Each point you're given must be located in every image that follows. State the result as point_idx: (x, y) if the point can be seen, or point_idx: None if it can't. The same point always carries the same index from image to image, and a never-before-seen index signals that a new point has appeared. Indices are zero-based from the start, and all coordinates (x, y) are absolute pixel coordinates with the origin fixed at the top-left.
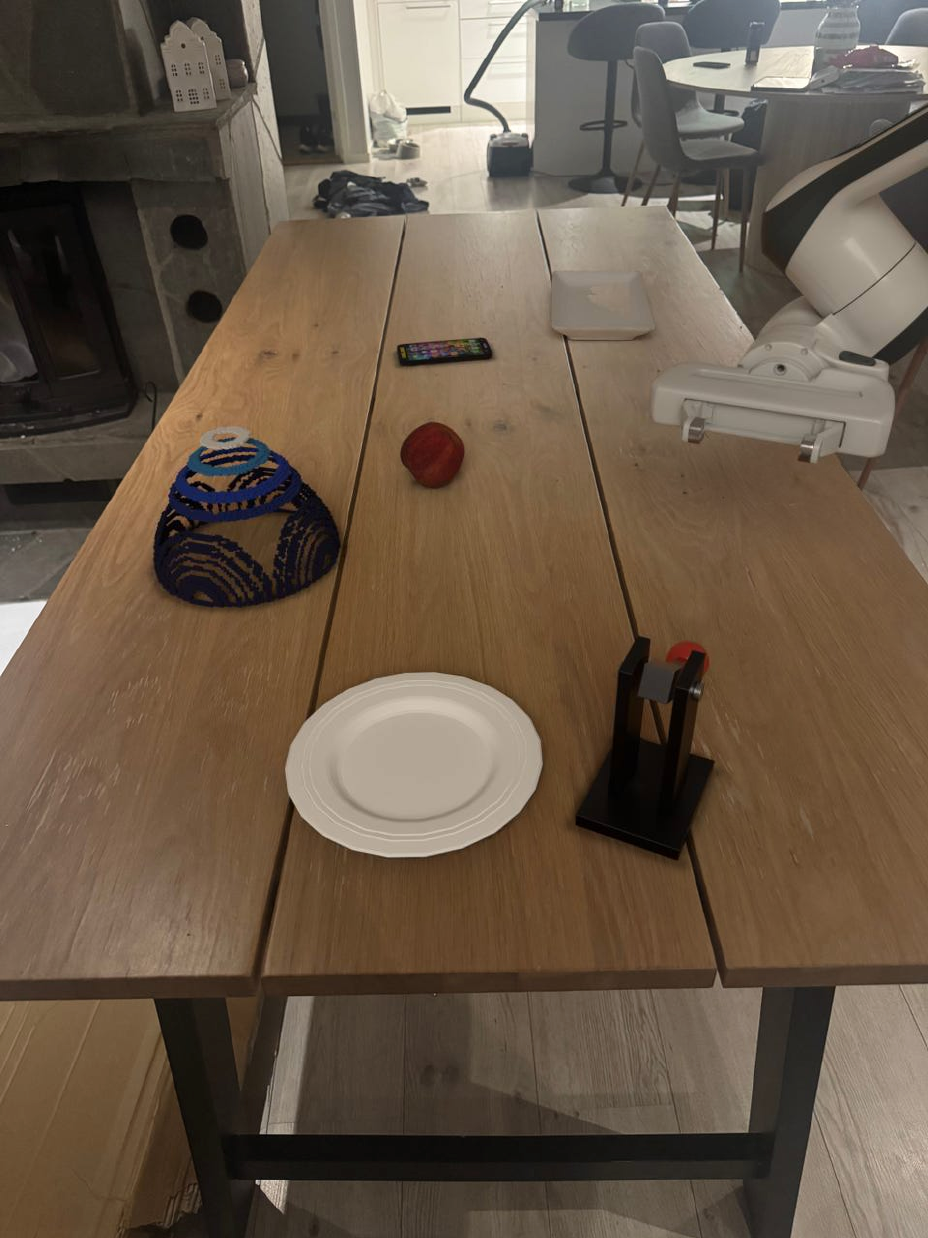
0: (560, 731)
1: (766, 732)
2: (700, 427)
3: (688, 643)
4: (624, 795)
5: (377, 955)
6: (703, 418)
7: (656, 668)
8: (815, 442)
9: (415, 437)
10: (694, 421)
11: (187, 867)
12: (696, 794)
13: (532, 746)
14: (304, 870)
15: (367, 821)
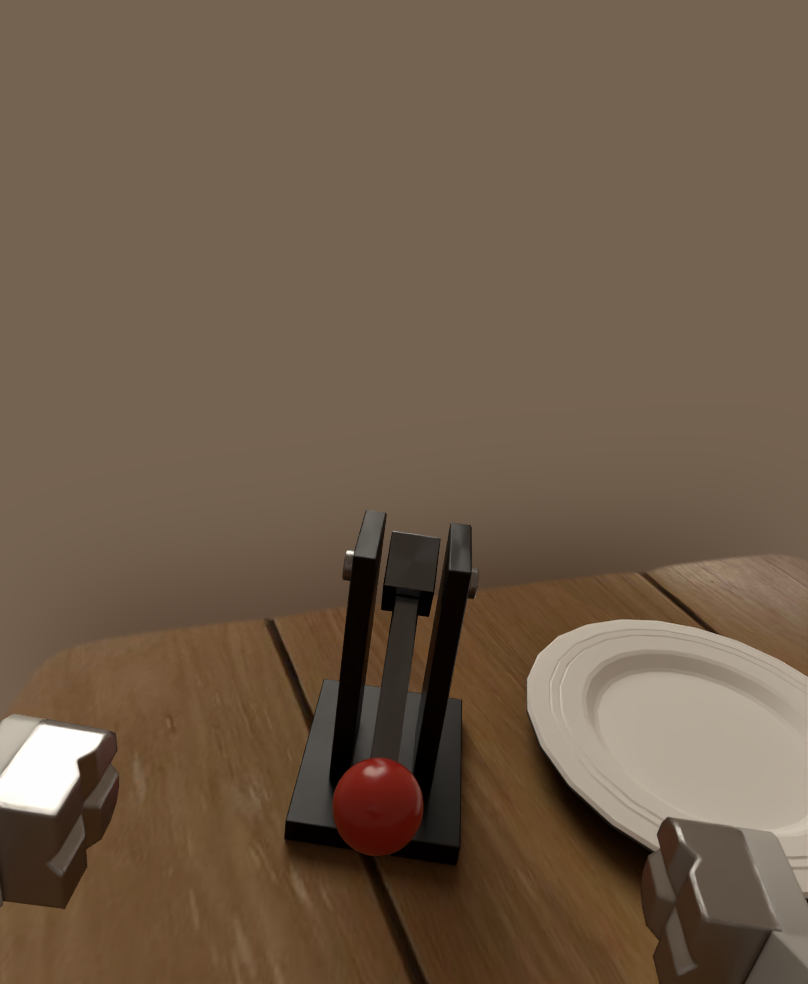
0: (561, 867)
1: (173, 966)
2: (672, 818)
3: (386, 777)
4: (411, 734)
5: (563, 586)
6: (720, 917)
7: (420, 535)
8: (27, 730)
9: None
10: (741, 864)
11: (780, 620)
12: (310, 755)
13: (572, 767)
14: None
15: (671, 645)
